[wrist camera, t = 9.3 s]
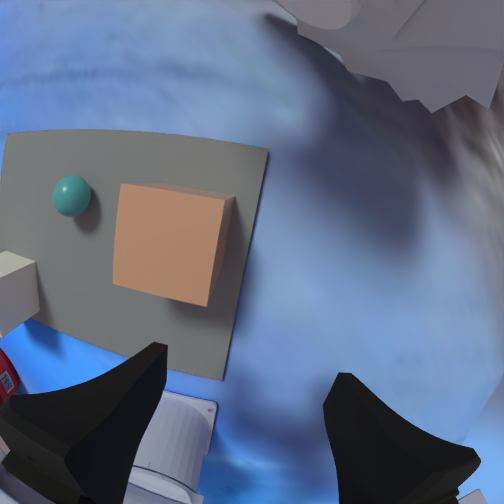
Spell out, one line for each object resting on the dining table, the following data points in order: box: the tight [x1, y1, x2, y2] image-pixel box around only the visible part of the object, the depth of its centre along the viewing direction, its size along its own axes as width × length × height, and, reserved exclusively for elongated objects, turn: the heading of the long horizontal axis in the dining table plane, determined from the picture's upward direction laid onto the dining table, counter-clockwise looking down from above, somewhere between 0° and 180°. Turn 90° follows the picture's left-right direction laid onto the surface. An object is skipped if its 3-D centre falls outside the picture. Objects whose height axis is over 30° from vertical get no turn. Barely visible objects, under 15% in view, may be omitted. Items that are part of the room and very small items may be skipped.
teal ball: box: [53, 175, 91, 217], centre depth 16 cm, size 3×3×3 cm
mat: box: [0, 129, 269, 381], centre depth 19 cm, size 18×25×1 cm
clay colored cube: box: [113, 183, 235, 307], centre depth 15 cm, size 5×5×6 cm
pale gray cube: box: [0, 251, 40, 338], centre depth 16 cm, size 5×5×6 cm
